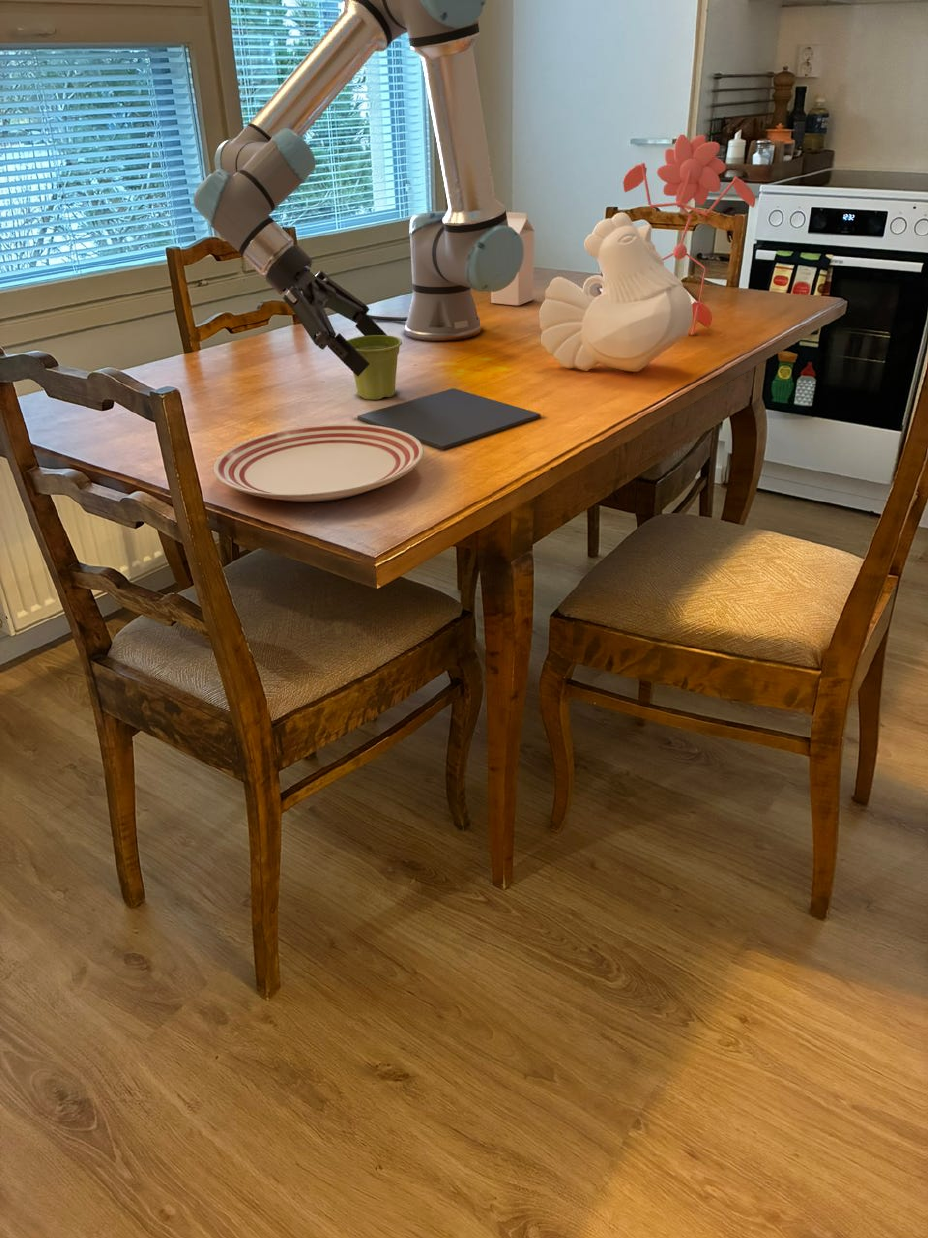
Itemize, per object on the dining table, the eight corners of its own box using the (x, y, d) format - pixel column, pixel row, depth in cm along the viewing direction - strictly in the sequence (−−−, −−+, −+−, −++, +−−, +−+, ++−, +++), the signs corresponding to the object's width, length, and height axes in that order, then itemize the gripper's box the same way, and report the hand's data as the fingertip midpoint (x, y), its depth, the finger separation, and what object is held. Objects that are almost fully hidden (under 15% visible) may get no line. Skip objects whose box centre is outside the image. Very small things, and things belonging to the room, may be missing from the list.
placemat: (357, 419, 148) (357, 415, 148) (453, 391, 160) (453, 387, 160) (442, 450, 135) (442, 446, 135) (540, 417, 147) (540, 413, 147)
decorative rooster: (717, 327, 166) (649, 200, 166) (690, 330, 153) (616, 192, 153) (600, 402, 180) (537, 285, 180) (566, 410, 167) (498, 284, 167)
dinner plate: (171, 492, 124) (166, 468, 122) (307, 431, 144) (305, 409, 142) (339, 536, 111) (336, 509, 110) (463, 461, 131) (462, 438, 130)
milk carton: (518, 306, 215) (518, 215, 206) (491, 303, 218) (490, 213, 209) (533, 300, 220) (534, 211, 211) (506, 297, 224) (506, 209, 214)
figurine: (734, 340, 185) (758, 137, 167) (606, 329, 195) (616, 136, 177) (750, 322, 197) (774, 131, 179) (629, 313, 207) (640, 131, 189)
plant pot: (396, 404, 154) (393, 350, 150) (340, 402, 156) (335, 348, 152) (410, 387, 162) (408, 335, 158) (357, 385, 164) (353, 334, 160)
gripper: (294, 263, 164) (384, 355, 169) (233, 293, 143) (337, 396, 147) (321, 230, 160) (411, 325, 165) (261, 256, 139) (367, 363, 144)
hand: (376, 359), depth 156 cm, fingers open, 13 cm apart
